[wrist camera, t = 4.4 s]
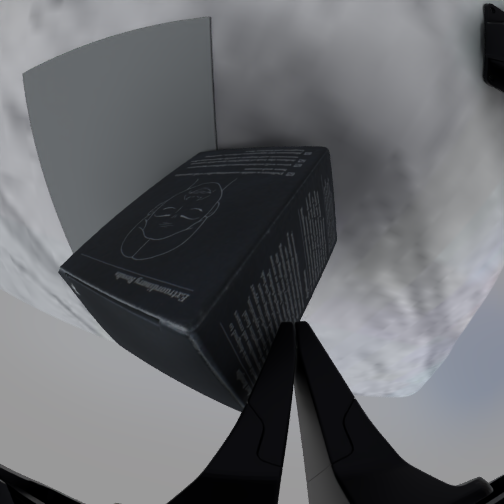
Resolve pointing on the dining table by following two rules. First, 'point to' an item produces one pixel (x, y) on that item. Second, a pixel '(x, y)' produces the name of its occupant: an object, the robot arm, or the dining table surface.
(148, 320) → the box
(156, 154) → the mat
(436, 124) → the dining table surface
